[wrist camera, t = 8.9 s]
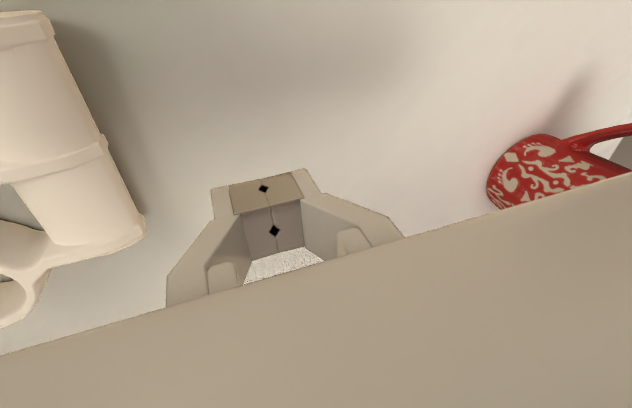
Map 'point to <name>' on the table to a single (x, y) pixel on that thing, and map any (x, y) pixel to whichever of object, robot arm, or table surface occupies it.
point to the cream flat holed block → (52, 167)
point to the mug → (551, 166)
